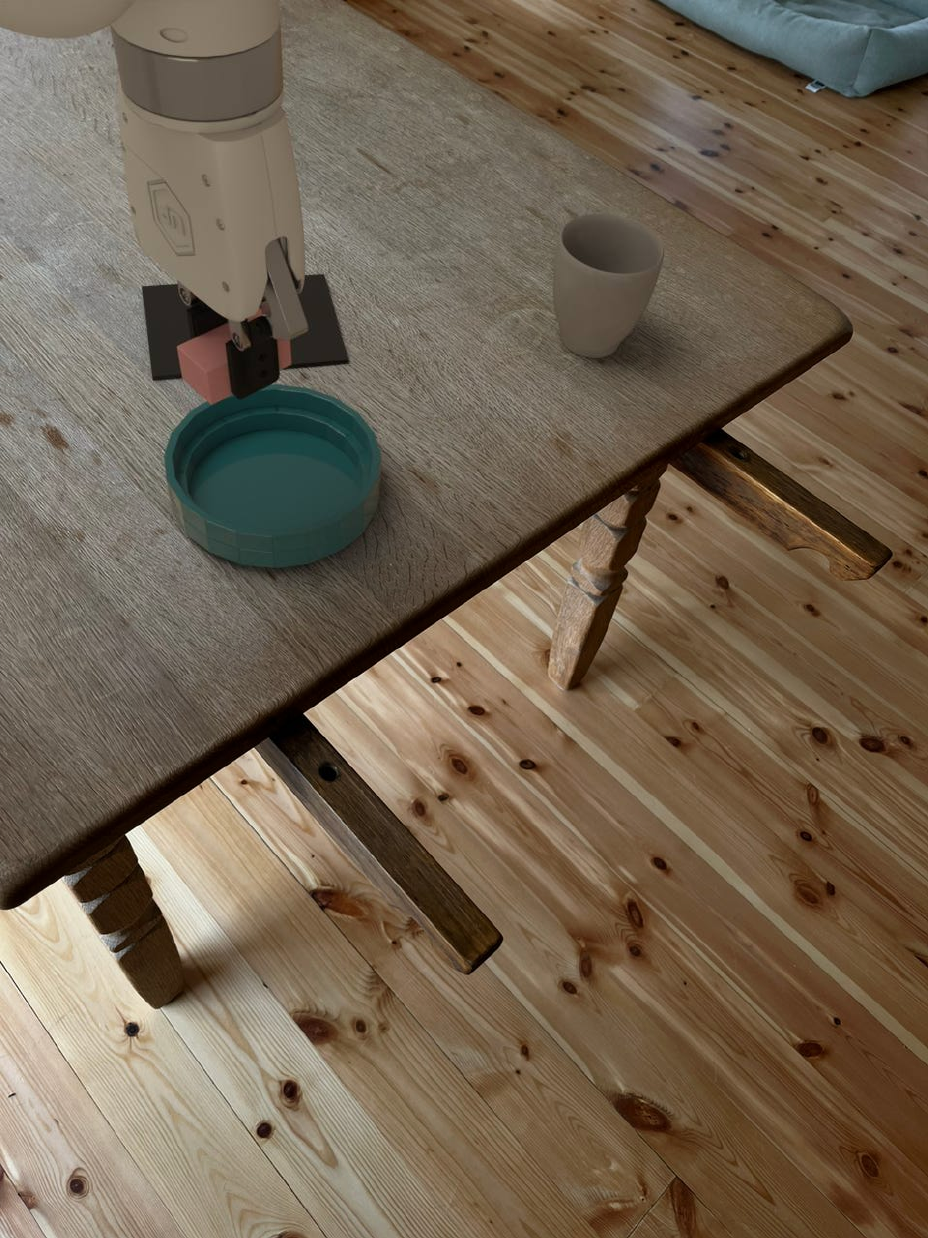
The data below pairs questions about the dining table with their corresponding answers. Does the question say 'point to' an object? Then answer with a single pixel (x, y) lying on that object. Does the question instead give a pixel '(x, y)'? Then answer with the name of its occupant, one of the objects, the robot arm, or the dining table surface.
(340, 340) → the mat
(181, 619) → the dining table surface
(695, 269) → the dining table surface
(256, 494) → the bowl
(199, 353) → the eraser
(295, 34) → the dining table surface
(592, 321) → the mug
